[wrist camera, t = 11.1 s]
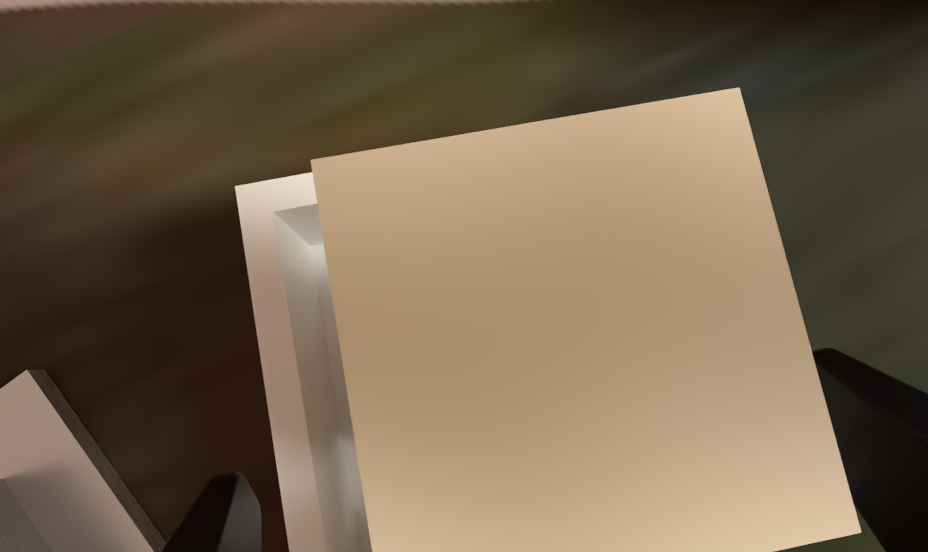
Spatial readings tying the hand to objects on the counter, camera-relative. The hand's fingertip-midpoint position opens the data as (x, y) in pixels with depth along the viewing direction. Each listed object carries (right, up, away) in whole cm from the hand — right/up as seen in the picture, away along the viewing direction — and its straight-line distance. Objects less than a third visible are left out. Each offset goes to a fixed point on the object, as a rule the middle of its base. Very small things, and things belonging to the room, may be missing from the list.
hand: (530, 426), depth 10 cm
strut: (0, 0, +8) cm, 8 cm away
